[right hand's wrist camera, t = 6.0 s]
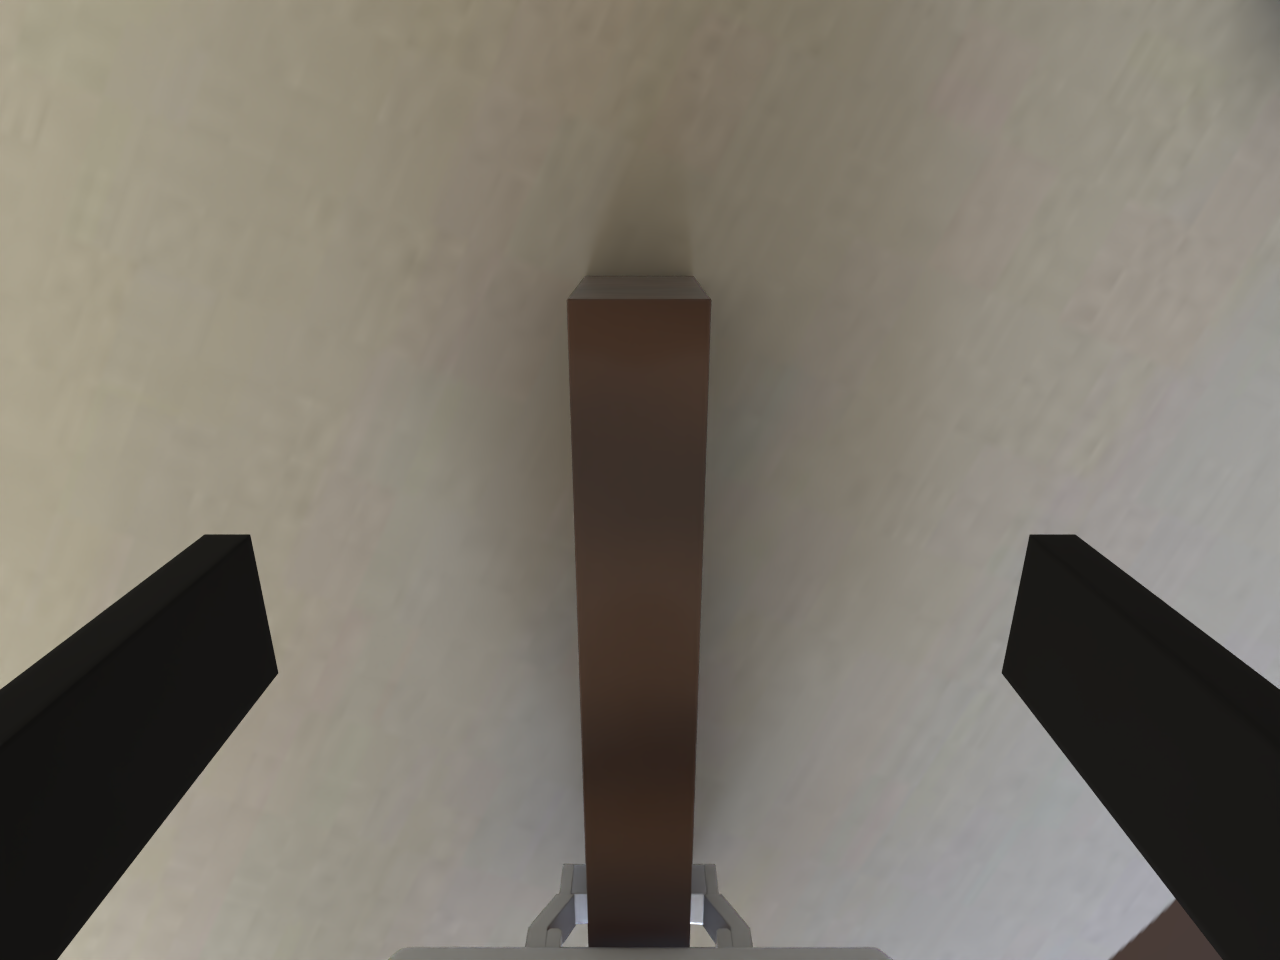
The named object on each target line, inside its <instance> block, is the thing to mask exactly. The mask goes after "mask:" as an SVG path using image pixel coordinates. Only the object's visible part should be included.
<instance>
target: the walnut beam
mask: <svg viewBox="0 0 1280 960" xmlns="http://www.w3.org/2000/svg"><path fill="white" fill-rule="evenodd" d="M567 320H568V350H569V380H570V410H571V440H572V470H573V499H574V529H575V559H576V589H577V619H578V648H579V678H580V708H581V738H582V768H583V797H584V827H585V857H586V887H587V917H588V947H690V919H691V889H692V859H693V829H694V799H695V770H696V740H697V710H698V680H699V650H700V620H701V590H702V561H703V531H704V501H705V471H706V441H707V411H708V381H709V351H710V322H711V299H710V298H709V296H708V295H707V294H706V292H705V291H704V290H703V288H702V287H701V286H700V284H699V283H698V282H697V280H696V279H695V277H694V276H585V277H584V278H583V280H582V281H581V282H580V284H579V285H578V286H577V287H576V289H575V290H574V291H573V293H572V294H571V295H570V297H569V298H568V299H567Z"/></svg>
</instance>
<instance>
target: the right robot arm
mask: <svg viewBox="0 0 1280 960" xmlns="http://www.w3.org/2000/svg"><path fill="white" fill-rule="evenodd" d="M277 674H278V669H277V664H276V659H275V654H274V650H273V645H272V640H271V635H270V630H269V625H268V620H267V615H266V610H265V605H264V600H263V595H262V590H261V586H260V581H259V576H258V571H257V566H256V561H255V556H254V551H253V546H252V541H251V536H250V535H203V536H202V537H201V538H200V539H198V540H197V541H196V542H194V543H193V544H192V545H190V546H189V547H188V548H186V549H185V550H184V551H182V552H181V553H180V554H178V555H177V556H176V557H174V558H173V559H172V560H171V561H169V562H168V563H167V564H165V565H164V566H163V567H161V568H160V569H159V570H157V571H156V572H155V573H153V574H152V575H151V576H149V577H148V578H147V579H145V580H144V581H143V582H142V583H140V584H139V585H138V586H136V587H135V588H134V589H132V590H131V591H130V592H128V593H127V594H126V595H124V596H123V597H122V598H120V599H119V600H118V601H116V602H115V603H114V604H113V605H111V606H110V607H109V608H107V609H106V610H105V611H103V612H102V613H101V614H99V615H98V616H97V617H95V618H94V619H93V620H91V621H90V622H89V623H87V624H86V625H85V626H84V627H82V628H81V629H80V630H78V631H77V632H76V633H74V634H73V635H72V636H70V637H69V638H68V639H66V640H65V641H64V642H62V643H61V644H60V645H58V646H57V647H56V648H55V649H53V650H52V651H51V652H49V653H48V654H47V655H45V656H44V657H43V658H41V659H40V660H39V661H37V662H36V663H35V664H33V665H32V666H31V667H29V668H28V669H27V670H26V671H24V672H23V673H22V674H20V675H19V676H18V677H16V678H15V679H14V680H12V681H11V682H10V683H8V684H7V685H6V686H4V687H3V688H2V689H0V960H57V959H58V958H59V956H60V955H61V954H62V953H63V951H64V950H65V949H66V947H67V946H68V945H69V944H70V942H71V941H72V940H73V938H74V937H75V936H76V934H77V933H78V932H79V931H80V929H81V928H82V927H83V925H84V924H85V923H86V921H87V920H88V919H89V918H90V916H91V915H92V914H93V912H94V911H95V910H96V909H97V907H98V906H99V905H100V903H101V902H102V901H103V899H104V898H105V897H106V896H107V894H108V893H109V892H110V890H111V889H112V888H113V887H114V885H115V884H116V883H117V881H118V880H119V879H120V877H121V876H122V875H123V874H124V872H125V871H126V870H127V868H128V867H129V866H130V864H131V863H132V862H133V861H134V859H135V858H136V857H137V855H138V854H139V853H140V852H141V850H142V849H143V848H144V846H145V845H146V844H147V842H148V841H149V840H150V839H151V837H152V836H153V835H154V833H155V832H156V831H157V829H158V828H159V827H160V826H161V824H162V823H163V822H164V820H165V819H166V818H167V817H168V815H169V814H170V813H171V811H172V810H173V809H174V807H175V806H176V805H177V804H178V802H179V801H180V800H181V798H182V797H183V796H184V795H185V793H186V792H187V791H188V789H189V788H190V787H191V785H192V784H193V783H194V782H195V780H196V779H197V778H198V776H199V775H200V774H201V772H202V771H203V770H204V769H205V767H206V766H207V765H208V763H209V762H210V761H211V760H212V758H213V757H214V756H215V754H216V753H217V752H218V750H219V749H220V748H221V747H222V745H223V744H224V743H225V741H226V740H227V739H228V737H229V736H230V735H231V734H232V732H233V731H234V730H235V728H236V727H237V726H238V725H239V723H240V722H241V721H242V719H243V718H244V717H245V715H246V714H247V713H248V712H249V710H250V709H251V708H252V706H253V705H254V704H255V703H256V701H257V700H258V699H259V697H260V696H261V695H262V693H263V692H264V691H265V690H266V688H267V687H268V686H269V684H270V683H271V682H272V680H273V679H274V678H275V677H276V675H277ZM1002 674H1003V675H1004V677H1005V678H1006V679H1007V680H1008V682H1009V683H1010V684H1011V686H1012V687H1013V688H1014V690H1015V691H1016V692H1017V693H1018V695H1019V696H1020V697H1021V699H1022V700H1023V701H1024V703H1025V704H1026V705H1027V706H1028V708H1029V709H1030V710H1031V712H1032V713H1033V714H1034V715H1035V717H1036V718H1037V719H1038V721H1039V722H1040V723H1041V725H1042V726H1043V727H1044V728H1045V730H1046V731H1047V732H1048V734H1049V735H1050V736H1051V738H1052V739H1053V740H1054V741H1055V743H1056V744H1057V745H1058V747H1059V748H1060V749H1061V750H1062V752H1063V753H1064V754H1065V756H1066V757H1067V758H1068V760H1069V761H1070V762H1071V763H1072V765H1073V766H1074V767H1075V769H1076V770H1077V771H1078V772H1079V774H1080V775H1081V776H1082V778H1083V779H1084V780H1085V782H1086V783H1087V784H1088V785H1089V787H1090V788H1091V789H1092V791H1093V792H1094V793H1095V795H1096V796H1097V797H1098V798H1099V800H1100V801H1101V802H1102V804H1103V805H1104V806H1105V807H1106V809H1107V810H1108V811H1109V813H1110V814H1111V815H1112V817H1113V818H1114V819H1115V820H1116V822H1117V823H1118V824H1119V826H1120V827H1121V828H1122V829H1123V831H1124V832H1125V833H1126V835H1127V836H1128V837H1129V839H1130V840H1131V841H1132V842H1133V844H1134V845H1135V846H1136V848H1137V849H1138V850H1139V852H1140V853H1141V854H1142V855H1143V857H1144V858H1145V859H1146V861H1147V862H1148V863H1149V864H1150V866H1151V867H1152V868H1153V870H1154V871H1155V872H1156V874H1157V875H1158V876H1159V877H1160V879H1161V880H1162V881H1163V883H1164V884H1165V885H1166V887H1167V888H1168V889H1169V890H1170V892H1171V893H1172V894H1173V896H1174V897H1175V898H1176V899H1177V901H1178V902H1179V903H1180V905H1181V906H1182V907H1183V909H1184V910H1185V911H1186V912H1187V914H1188V915H1189V916H1190V918H1191V919H1192V920H1193V921H1194V923H1195V924H1196V925H1197V927H1198V928H1199V929H1200V931H1201V932H1202V933H1203V934H1204V936H1205V937H1206V938H1207V940H1208V941H1209V942H1210V943H1211V945H1212V946H1213V947H1214V949H1215V950H1216V951H1217V952H1218V954H1219V955H1220V956H1221V958H1222V959H1223V960H1280V689H1278V688H1277V687H1276V686H1274V685H1273V684H1272V683H1270V682H1269V681H1268V680H1266V679H1265V678H1264V677H1262V676H1261V675H1260V674H1258V673H1257V672H1256V671H1254V670H1253V669H1252V668H1251V667H1249V666H1248V665H1247V664H1245V663H1244V662H1243V661H1241V660H1240V659H1239V658H1237V657H1236V656H1235V655H1233V654H1232V653H1231V652H1229V651H1228V650H1227V649H1225V648H1224V647H1223V646H1222V645H1220V644H1219V643H1218V642H1216V641H1215V640H1214V639H1212V638H1211V637H1210V636H1208V635H1207V634H1206V633H1204V632H1203V631H1202V630H1200V629H1199V628H1198V627H1196V626H1195V625H1194V624H1193V623H1191V622H1190V621H1189V620H1187V619H1186V618H1185V617H1183V616H1182V615H1181V614H1179V613H1178V612H1177V611H1175V610H1174V609H1173V608H1171V607H1170V606H1169V605H1167V604H1166V603H1165V602H1164V601H1162V600H1161V599H1160V598H1158V597H1157V596H1156V595H1154V594H1153V593H1152V592H1150V591H1149V590H1148V589H1146V588H1145V587H1144V586H1142V585H1141V584H1140V583H1138V582H1137V581H1136V580H1135V579H1133V578H1132V577H1131V576H1129V575H1128V574H1127V573H1125V572H1124V571H1123V570H1121V569H1120V568H1119V567H1117V566H1116V565H1115V564H1113V563H1112V562H1111V561H1109V560H1108V559H1107V558H1106V557H1104V556H1103V555H1102V554H1100V553H1099V552H1098V551H1096V550H1095V549H1094V548H1092V547H1091V546H1090V545H1088V544H1087V543H1086V542H1084V541H1083V540H1082V539H1080V538H1079V537H1078V536H1077V535H1030V536H1029V541H1028V546H1027V551H1026V556H1025V561H1024V566H1023V571H1022V576H1021V581H1020V586H1019V590H1018V595H1017V600H1016V605H1015V610H1014V615H1013V620H1012V625H1011V630H1010V635H1009V640H1008V645H1007V650H1006V654H1005V659H1004V664H1003V669H1002Z"/></svg>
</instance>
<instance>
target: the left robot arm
mask: <svg viewBox="0 0 1280 960" xmlns="http://www.w3.org/2000/svg"><path fill="white" fill-rule="evenodd" d="M576 924H588V917H587V887H586V864H563V868H562V876H561V885H560V893H559V894H556V895H555V897H554V898H553V899H552V900H551V901H550V902H549V904H548V905H547V906H546V907H545V908H544V910H543V911H542V912H541V913H540V914H539V915H538V917H537V918H536V919H535V920H534V921H533V923H532V924H531V925H530V926H529V927H528V932H527V939H526V945H525V947H406V948H402V949H400V950H399V951H397V952H396V953H395V954H394V955H392V956H391V957H390V958H389V959H388V960H893V959H892V958H890V957H889V956H888V955H887V954H886V953H884V952H883V951H882V950H880V949H878V948H875V947H753V944H752V938H751V931H750V927H749V926H748V925H747V924H746V923H745V921H744V920H743V919H742V918H741V917H740V915H739V914H738V913H737V912H736V911H735V909H734V908H733V907H732V906H731V905H730V903H729V902H728V901H727V900H726V899H725V898H724V896H723V895H722V894H719V891H718V883H717V874H716V866H715V864H692V889H691V919H690V924H703V926H704V928H705V929H706V931H707V932H708V934H709V935H710V937H711V938H712V940H713V941H714V943H715V944H716V947H562V945H563V943H564V942H565V940H566V939H567V937H568V936H569V934H570V933H571V931H572V930H573V928H574V927H575V925H576Z"/></svg>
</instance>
